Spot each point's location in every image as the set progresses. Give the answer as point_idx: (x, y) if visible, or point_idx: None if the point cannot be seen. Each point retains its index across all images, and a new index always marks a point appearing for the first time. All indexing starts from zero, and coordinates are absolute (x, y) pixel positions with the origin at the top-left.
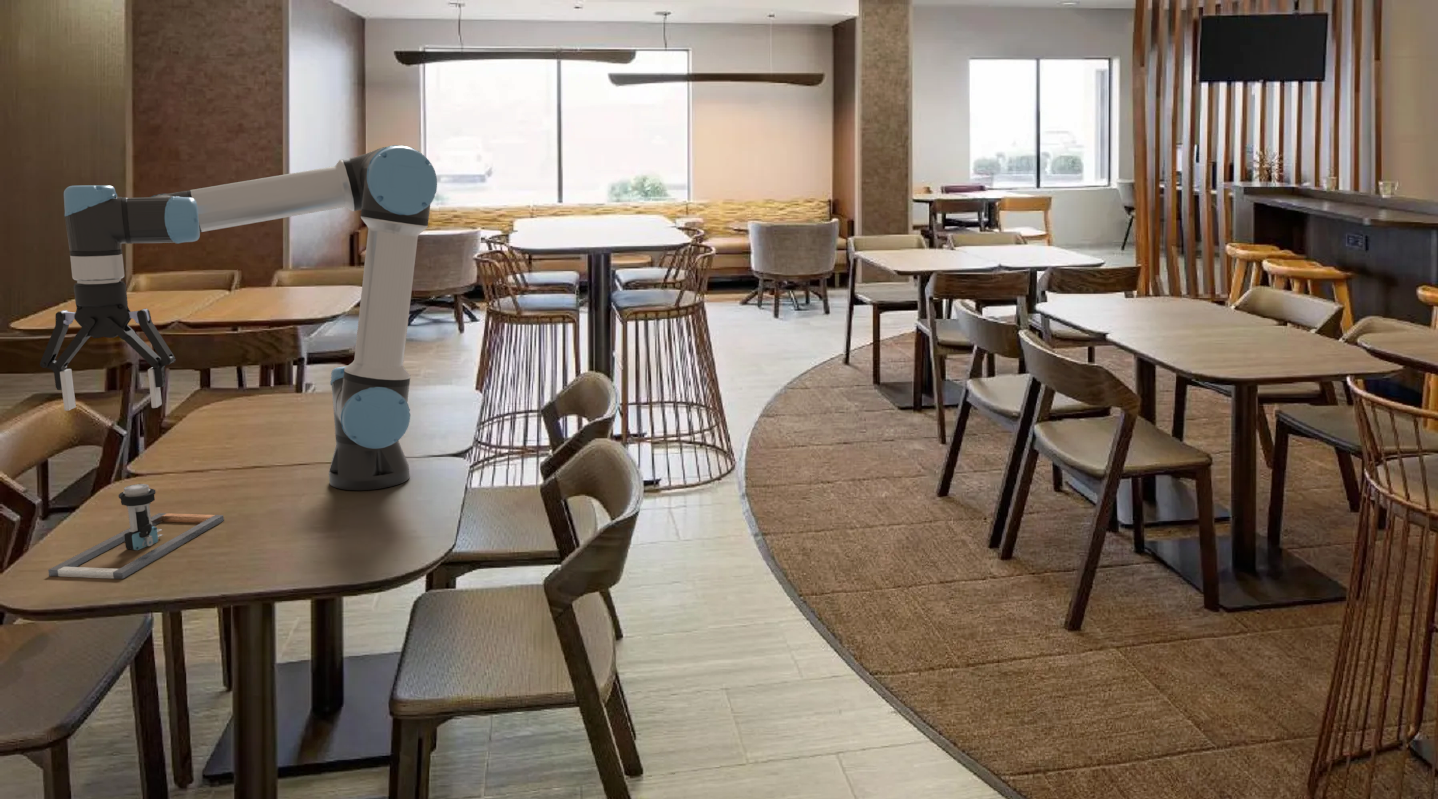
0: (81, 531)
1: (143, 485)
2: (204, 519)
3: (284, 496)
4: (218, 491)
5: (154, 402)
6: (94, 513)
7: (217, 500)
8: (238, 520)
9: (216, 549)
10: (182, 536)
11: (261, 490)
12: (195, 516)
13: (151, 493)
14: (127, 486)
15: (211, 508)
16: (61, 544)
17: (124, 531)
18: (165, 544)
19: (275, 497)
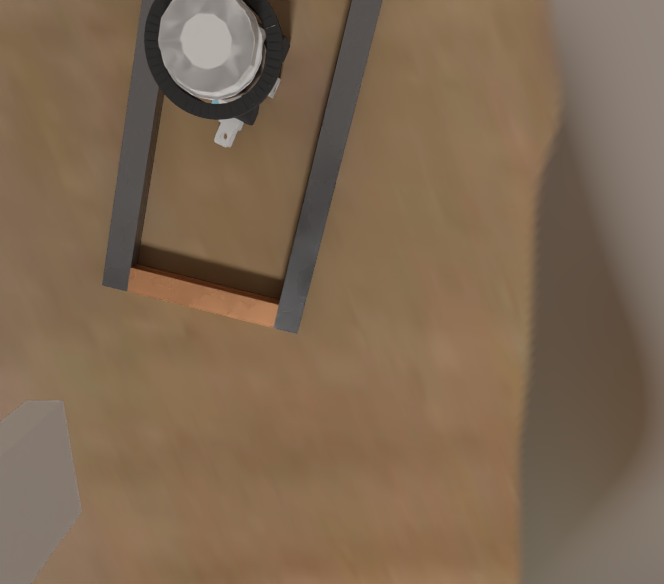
0: (479, 244)
1: (185, 64)
2: (151, 270)
3: None
4: (227, 538)
5: (11, 424)
6: (495, 401)
7: (199, 464)
8: (70, 278)
9: (20, 5)
10: (140, 90)
11: (115, 530)
12: (179, 285)
13: (149, 29)
14: (249, 58)
15: (189, 397)
16: (497, 128)
17: (334, 169)
18: None
19: None
